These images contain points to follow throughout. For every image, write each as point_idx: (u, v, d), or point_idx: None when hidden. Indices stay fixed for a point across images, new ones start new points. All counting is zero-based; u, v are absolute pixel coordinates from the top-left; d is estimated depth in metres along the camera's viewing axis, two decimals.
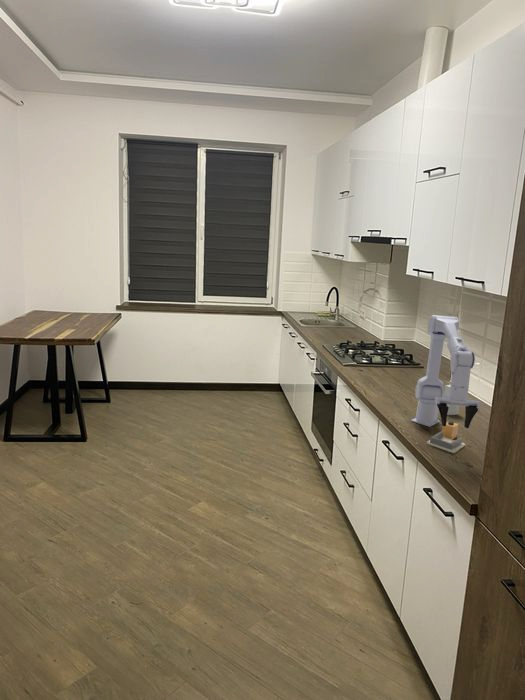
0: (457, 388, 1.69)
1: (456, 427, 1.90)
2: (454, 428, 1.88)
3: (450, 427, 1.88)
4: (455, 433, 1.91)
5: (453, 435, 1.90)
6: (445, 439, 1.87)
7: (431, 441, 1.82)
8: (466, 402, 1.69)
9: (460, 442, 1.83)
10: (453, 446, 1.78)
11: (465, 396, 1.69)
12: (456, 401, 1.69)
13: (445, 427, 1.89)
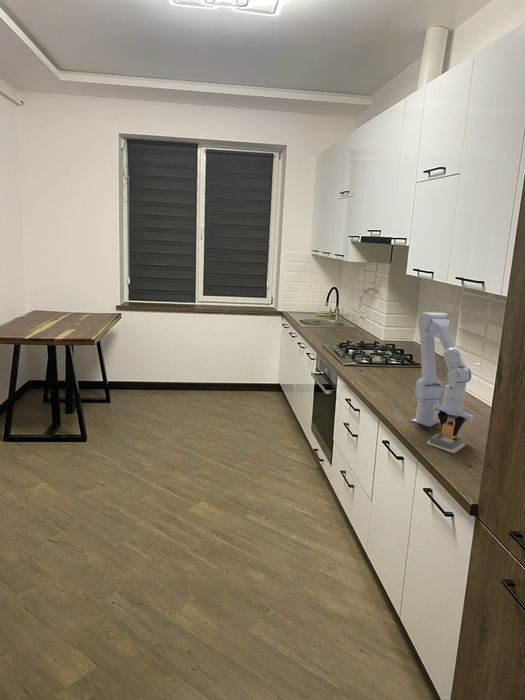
0: (448, 400, 1.88)
1: None
2: None
3: (450, 427, 1.88)
4: None
5: None
6: (445, 439, 1.87)
7: (431, 441, 1.82)
8: (455, 414, 1.86)
9: (460, 442, 1.83)
10: (453, 446, 1.78)
11: (455, 408, 1.86)
12: (446, 411, 1.88)
13: (445, 427, 1.89)
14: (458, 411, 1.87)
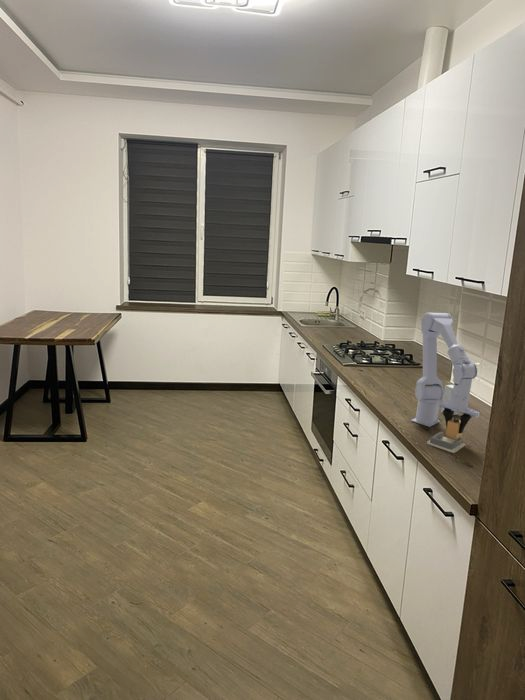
0: (453, 396, 1.84)
1: None
2: (459, 426, 1.85)
3: (455, 424, 1.84)
4: None
5: (459, 433, 1.86)
6: (445, 439, 1.87)
7: (431, 441, 1.82)
8: (460, 411, 1.82)
9: (460, 442, 1.83)
10: (453, 446, 1.78)
11: (460, 405, 1.82)
12: (451, 408, 1.84)
13: (450, 424, 1.86)
14: (464, 408, 1.83)
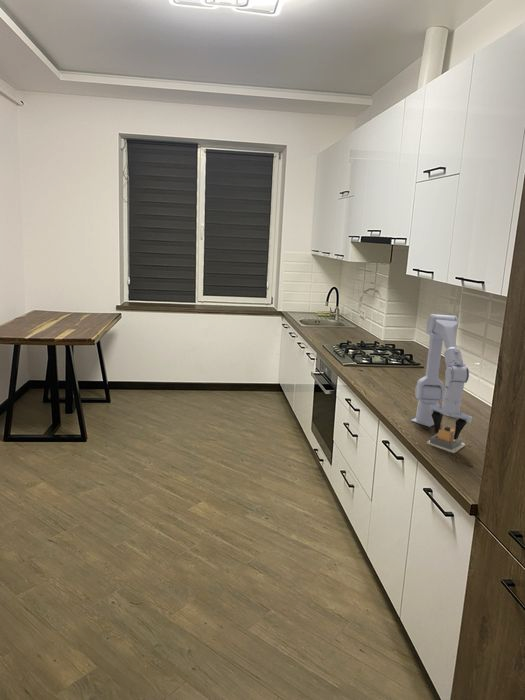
0: (445, 400, 1.78)
1: (453, 433, 1.81)
2: (450, 434, 1.80)
3: (446, 433, 1.79)
4: (452, 439, 1.82)
5: (450, 442, 1.81)
6: None
7: (431, 441, 1.82)
8: (452, 415, 1.77)
9: (460, 442, 1.83)
10: (453, 446, 1.78)
11: (452, 409, 1.77)
12: (443, 412, 1.79)
13: (441, 433, 1.81)
14: (456, 412, 1.77)
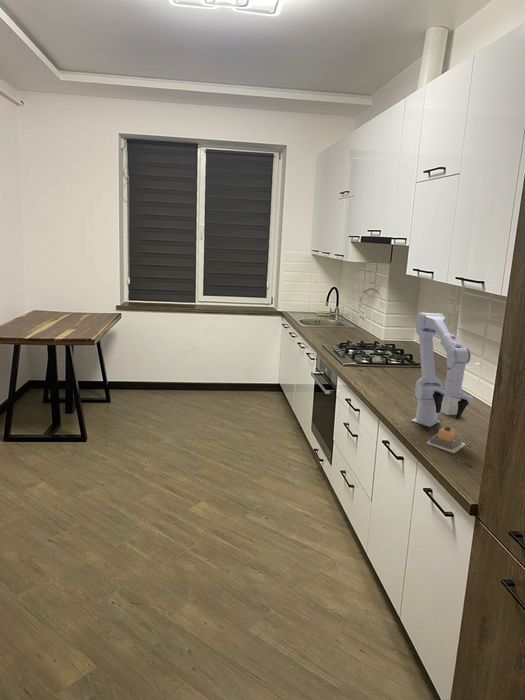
0: (447, 381, 1.85)
1: (453, 433, 1.81)
2: (450, 434, 1.80)
3: (446, 433, 1.79)
4: (452, 439, 1.82)
5: (450, 442, 1.81)
6: None
7: (431, 441, 1.82)
8: (454, 395, 1.83)
9: (460, 442, 1.83)
10: (453, 446, 1.78)
11: (453, 389, 1.83)
12: (445, 392, 1.85)
13: (441, 433, 1.81)
14: (457, 392, 1.84)
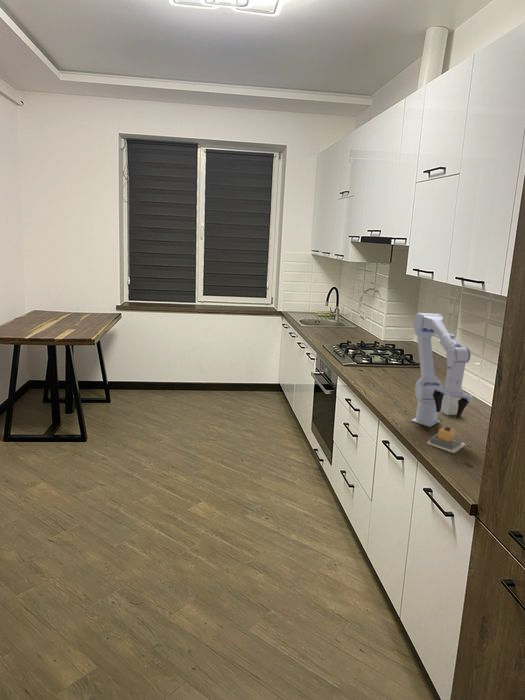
0: (447, 380, 1.85)
1: (453, 433, 1.81)
2: (450, 434, 1.80)
3: (446, 433, 1.79)
4: (452, 439, 1.82)
5: (450, 442, 1.81)
6: None
7: (431, 441, 1.82)
8: (454, 394, 1.84)
9: (460, 442, 1.83)
10: (453, 446, 1.78)
11: (454, 388, 1.84)
12: (445, 391, 1.86)
13: (441, 433, 1.81)
14: (457, 391, 1.84)
